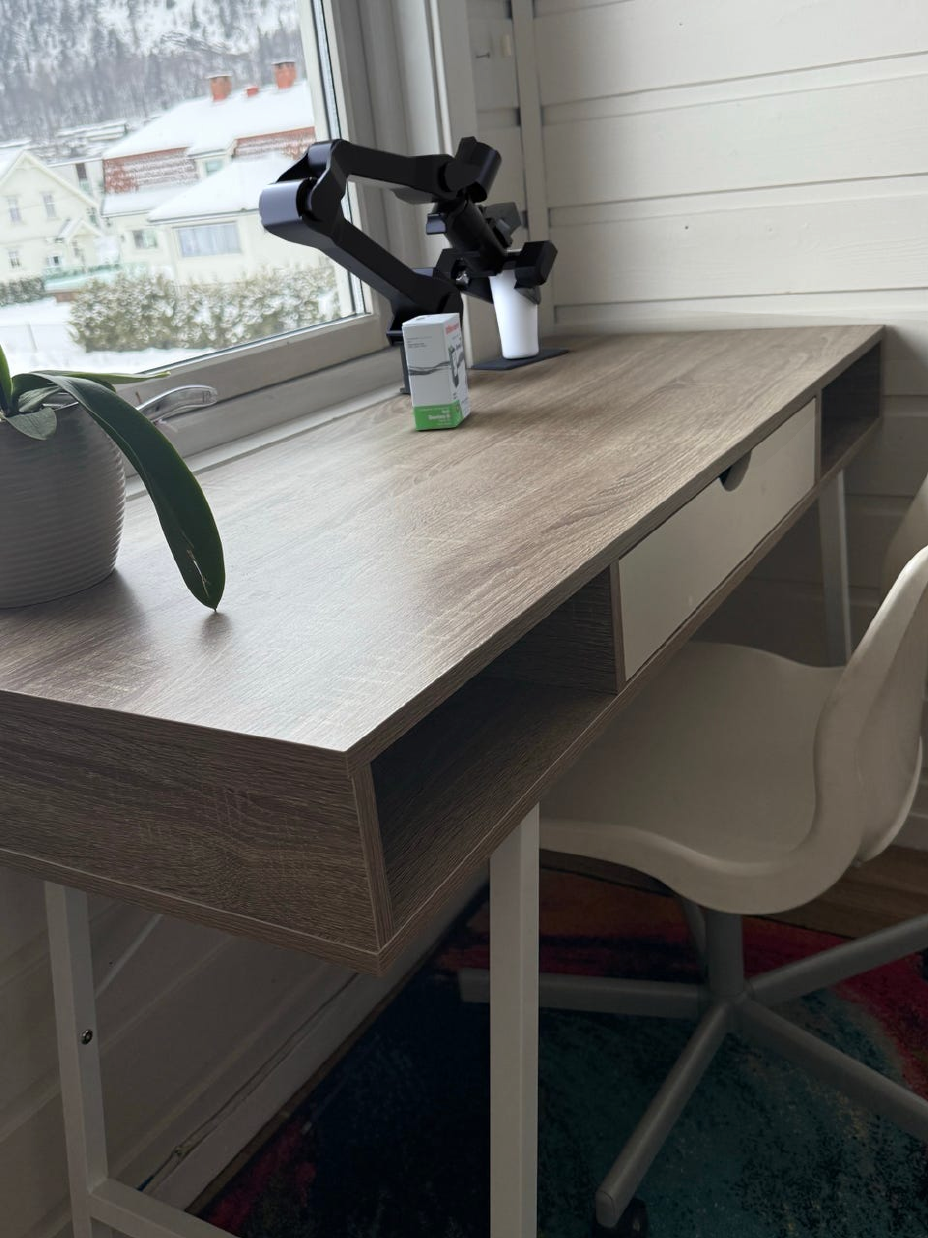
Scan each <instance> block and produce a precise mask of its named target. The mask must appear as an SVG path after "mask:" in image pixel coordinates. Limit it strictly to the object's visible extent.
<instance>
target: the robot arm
mask: <svg viewBox="0 0 928 1238" xmlns="http://www.w3.org/2000/svg"><path fill="white" fill-rule="evenodd" d="M502 165H503V158H502V155H501V153H500V152H499V151H498V150H497V149H494V147H492V146H491V145H490V144H487V143H485V142H481V141H478V140H477V138H476V137H475V136H474V135H471V136H466V137H465V136H464V137H461V138H460V141H459V143H458V147H457V150H456V153H455V155H454V157H453V155H451V154H449V153H436V154H435V153H434V154H433V153H432V154H422V155H409V156H408V155H404V154H400V153H396V152H391V151H387V150H382V149H378V148H374V147H371V146H370V147H369V146H365V145H362V144H357V143H353V142H350V141H349V140H347V139H344V138H341V137H340V138H333V139H332V138H331V139H325V140H320V141H315V142H313V143H312V144H311V145H310V146H308V147H307V149H305V151H304V152H303V154H302V155H301V156H300V157H299V158H298V159H297V160H296V161H294V162H293V163H292V164H290V165H289V166H288V167H287V168H285V169H284V170H283V171H282V172H280V173H279V174H278V175H277V176H276V177H275V179H274V180H273V181H272V182H270V183H268V184H266V185H265V186H264V187H263V188H262V189H261V192H260V195H259V198H258V213H259V216H260V224H261V226H262V227H263V228H264V229H265V230H266V231H267V232H268V233H269V234H271V235H273V236H276V237H278V238H280V239H282V240H284V241H287V242H289V243H292V244H297V245H301V246H305V247H310V248H312V249H313V248H314V249H316V250H318V251H320V252H321V253H322V254H324V255H325V256H326V257H328V258H329V259H331V260H332V261H334V262H335V263H337V265H339V266H341V268H344V269H345V270H346V271H348V272H349V273H350V274H352V275H353V276H355V277H356V278H358V279H359V281H361V282H363V283H364V284H365V285H367V286H369V287H370V289H371V288H372V289H373V290H374V291H376V292H377V293H378V294H380V295H381V296H383V297H384V298H386V299H387V300H388V302H389V305H390V311H391V313H392V317H391V319H390V321H389V323H388V326H387V328H386V330H385V336H386V339H387V341H388V344H389V346H390V347H392V348H394V347H399V352H400V360H401V367H402V374H403V382H404V387H400V388H399V393H404V394H409V395H411V390H410V382H409V373H408V366H407V359H406V351H405V344H404V336H403V329H402V326H403V323H405V322H407V321H409V320H411V319H414V318H416V317H418V316H423V315H437V314H451V313H459V318H460V328H461V334H462V332H463V320H464V310H465V305H464V299H463V297H462V295H464V296H468V297H471V298H475V299H477V300H480V301H482V302H486V303H488V304H491V305H492V306H494V301H493V296H492V291H491V285H490V278H489V277H490V276H496V275H499V274H501V273H502V271H503V270H514V272H515V279H516V280H517V281H516V283H515V286H514V289H515V290H516V291H518V292H519V293H520V294H522V295H523V296H524V297H526V298H527V299H529V300H530V301H531V302H533V303H535V304H536V305H537V306H539V305H540V304H541V302H542V292H541V287H540V286H543V285H545V284H546V283H547V281H548V278H549V276H550V273H551V271H552V268H553V266H554V264H555V261H556V258H557V255H558V253H559V250H558V249H557V247H556V246H555V244H554V243H553V242H552V239H541V240H540V239H539V240H529V241H524V243H523V245H522V248H521V249H522V250H521V251H519V252H508V251H507V250H508V249H509V248H512V245H513V243H514V239H513V237H512V235H513V233H514V232H516V231H517V229H518V228H520V227H522V225H523V221H522V218H521V215H520V212H519V209H518V207H517V204H516V202H515V201H510V202H509V201H508V202H498V203H493V204H490V205H482V203H483V202H485V201H487V199H488V198H489V195H490V194H491V191H492V189H493V186H494V184H495V181H496V179H497V176H498V175H499V172H500V170H501V167H502ZM347 182H348V183H349V182H350V183H355V184H358V185H364V186H370V187H374V188H379V189H384V190H387V191H390V192H391V193H393V194H394V196H395V198H397V199H398V200H400V201H403V202H405V203H407V204H409V205H412V206H420V205H428V204H429V205H430V204H433V207H432V209H431V211H430V213H429V212H428V213H427V214H426V224H425V234H426V236H435V235H443V236H444V237H445V239H446V240H447V241H448V243H449V244H450V245H451V247H446V248H442V249H441V252H440V253H439V256H438V259H437V261H436V263H435V265H434V266H429V267H428V266H427V267H414V268H413V267H411V268H410V267H409V266H408V265H407V264H405V263H404V262H402V261H401V260H400V259H399V258H398V257H397V256H395V255H394V254H392V253H391V252H390V251H389V250H387V249H386V248H385V247H383V246H382V245H381V244H380V243H379V242H377V241H375V240H374V239H373V238H372V237H371V236H370V235H368V234H367V233H365V232H363V230H362V229H360V228H359V227H357V226H356V225H355V224H353V223H352V222H351V221H350V220H349V219H348V218H346V217H345V212H344V208H343V204H342V200H343V199H344V197H345V196H346V194H347Z"/></svg>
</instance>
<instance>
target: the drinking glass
mask: <svg viewBox="0 0 928 1238" xmlns="http://www.w3.org/2000/svg"><path fill="white" fill-rule="evenodd" d="M521 250H522V248H516V249H509V250H508V249H507V251H508V252H519V251H521ZM489 279H490V285H491V291H492V296H493V301H494V305H493V306H494V311H495V312H494V313H495V317H496V322H497V326H498V332H499V338H500V343H501V354H502V356H503V357H504V358H507V359H517V358H526V357H531V356H535V355H537V354H538V352H539V349H540V348H539V337H538V336H539V335H538V334H539V333H538V331H539V329H538V305H536V304H535V303H533V302H531V301H530V300H529V299H527V298H526V297H524V296H523V295H522V294H520V293H519V292H518V291H516V290H515V289H514V286H515V283H516V281H517V280H516V279H515V272H514V270H503V271H502V273H501V274H499V275H496V276H490V277H489Z"/></svg>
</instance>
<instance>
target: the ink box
mask: <svg viewBox="0 0 928 1238" xmlns="http://www.w3.org/2000/svg"><path fill="white" fill-rule="evenodd" d="M402 329H403V336H404V344H405V351H406V359H407V366H408V373H409V382H410V390H411V394H410V397H411V404H412V409H413V418H414V419H413V420H414V426H415V430H416V431H422V430H423V431H424V430H437V429H438V430H439V429H440V430H441V429H452V428H457V427H458V425H460V424H461V422H462V421H464V419H466V417H468V416H469V414H470V413H471V406H470V400H469V399H470V398H469V388H468V381H467V372H466V364H465V356H464V355H465V354H464V348H463V346H464V345H463V337H462V333H461V328H460V318H459V313H451V314H437V315H423V316H418V317H416V318H414V319H411V320H409V321H407V322H405V323H403V326H402Z"/></svg>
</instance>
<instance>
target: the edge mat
mask: <svg viewBox="0 0 928 1238" xmlns="http://www.w3.org/2000/svg"><path fill="white" fill-rule="evenodd" d="M569 352H570V349H569V348H539V352H538V354H537V355H535V356H531V357H526V358H517V359H507V358H504V356H503V357H499V358H495V359H492V360H488V361H484V362H480V363H478V364H477V363H476V364H474V365H471V366H470V369H471V370H493V371H496V370H498V371H508V370H511V369H515V368H518V367H519V368H520V367H522V366H526V365H530V364H532V363H535V362H539V361H542V360H543V361H544V360H546V359H549V358H554V357H557V356H560V355H563V354H567V353H569Z"/></svg>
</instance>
